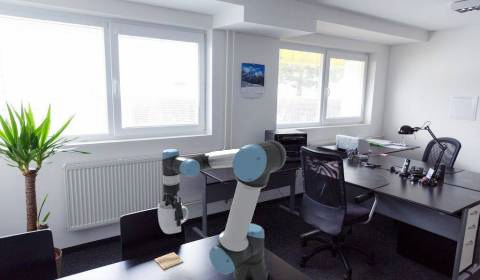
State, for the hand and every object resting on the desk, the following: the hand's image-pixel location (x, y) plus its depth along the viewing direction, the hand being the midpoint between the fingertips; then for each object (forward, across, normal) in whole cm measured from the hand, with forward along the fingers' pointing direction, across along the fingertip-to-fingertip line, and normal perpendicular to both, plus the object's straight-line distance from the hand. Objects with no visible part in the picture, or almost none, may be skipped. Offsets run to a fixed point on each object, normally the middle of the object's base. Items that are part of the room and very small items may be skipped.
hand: (172, 227), depth 142 cm
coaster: (+17, 0, +2) cm, 17 cm away
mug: (+2, 0, 0) cm, 2 cm away
